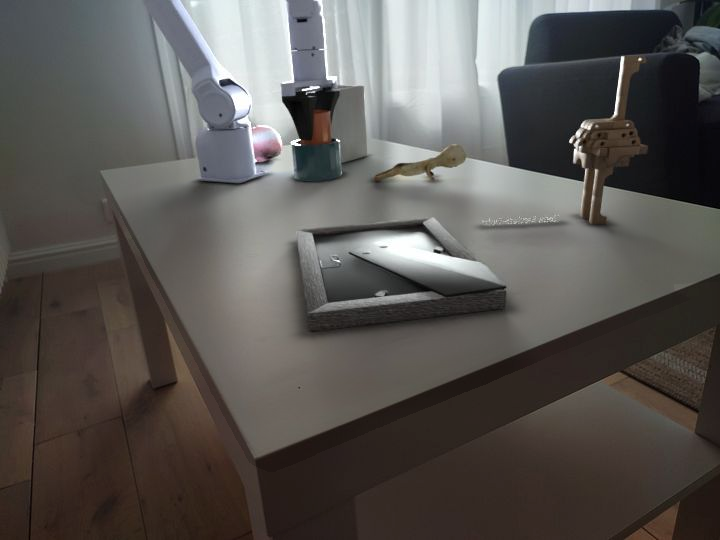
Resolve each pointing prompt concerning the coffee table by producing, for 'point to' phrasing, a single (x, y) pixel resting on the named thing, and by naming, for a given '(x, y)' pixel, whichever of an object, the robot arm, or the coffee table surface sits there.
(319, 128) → the cup
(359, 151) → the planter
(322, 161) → the base cup
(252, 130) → the onion
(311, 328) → the picture frame
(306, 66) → the robot arm
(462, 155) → the figurine
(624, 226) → the coffee table surface
